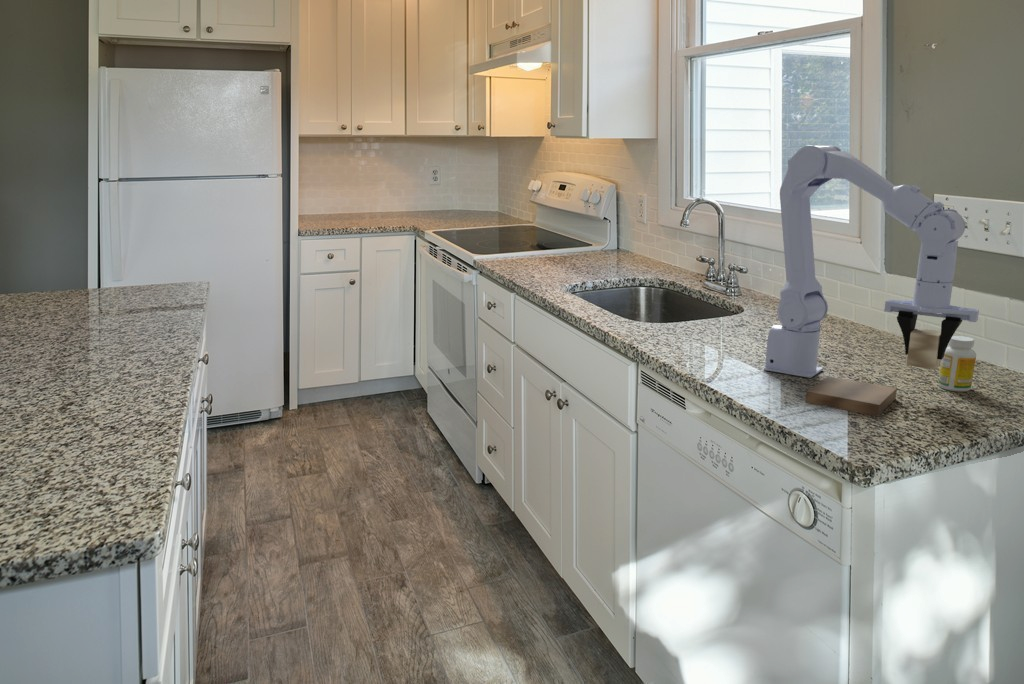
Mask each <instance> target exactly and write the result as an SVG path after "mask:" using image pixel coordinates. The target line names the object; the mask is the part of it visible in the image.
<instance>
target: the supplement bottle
mask: <svg viewBox="0 0 1024 684" xmlns="http://www.w3.org/2000/svg"><path fill="white" fill-rule="evenodd" d="M974 345H975V339H974V338H973V337H969V336H963V335H953V336H952V338H951V340H950V341H949V344H948V346H947V348H946V351H945V354H944V358H943V359H941V362H940V364H941V365H940V372H939V377H938V387H940V388H942V389H943V390H946V391H949V392H950V391H951V392H961V393H962V392H963V393H964V392H968V391H970V390H971V389H972V386H973V385H972V383H973V377H974V373H975V365H976V357H977V353H976V351H975V350H974V349H972V348H973V347H974Z"/></svg>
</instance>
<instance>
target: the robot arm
mask: <svg viewBox="0 0 1024 684" xmlns="http://www.w3.org/2000/svg"><path fill="white" fill-rule="evenodd" d="M833 179H836V180H837V179H839V180H842V179H843V180H846V181H848V182H850V183H851V184H852V185H855V186H856V187H858V188H860V189H861V190H863V191H865V192H866V193H868V194H870V195H871V196H873V197H874V198H877V199H878V200H880V201H882V206H883V211H884V212H885V213H887V214H888V215H889V216H891V217H892V218H894V219H895V220H896V221H898V222H899V223H901V224H903V225H905V226H906V227H907V228H909V229H910V230H911V231H913V232H916V234H917V237H918V238H919V239H918V240H919V241H920V243H921V244H920V250H919V251H920V252H919V255H918V263H917V268H916V269H917V270H916V279H915V286H914V291H913V292H914V293H913V294H914V295H913V299H912V300H913V301H912V300H895V299H887V300H885V301H884V302H885V303H884V310H883V311H884V312H886V313H891V312H893V313H898V314H897V316H896V320H897V323H898V325H899V329H900V330H901V334H902V337H903V338H902V339H903V341H904V349H905V352H904V354H905V355H907V356H908V349H909V342H910V334H911V332H912V331H913V330H915V329H916V324H917V319H918V316H927V317H935V318H942V319H943V320H941V322H940V323H941V327H940V331H941V338H940V344H939V349H938V355H937V359H940V360H942V359H943V358H944V354H945V351H946V348H947V347H949V341H950V340H951V338H952V336H954V334H955V332H956V331H957V330H958V328H959V327H960V325H961V324H962V323H963V321H967V322H970V323H977V322H978V319H979V314H980V309H976V308H969V307H963V306H958V305H951V299H952V294H953V293H952V291H953V285H954V279H955V278H954V277H955V272H956V271H955V270H956V264H957V257H958V255H957V253H958V246H959V239H960V238H961V237H963V235H964V233H965V230H966V222H965V219H964V218H963V216H962V215H961V214H960V213H959V212H958V210H956V209H951V208H945V209H944V206H945V204H944V203H943V202H941V201H937V202H935V201H934V200H932V199H931V198H929V197H928V196H926V195H925V194H923V193H921V190H922V189H921V187H919V186H917V185H915V184H914V185H913V184H912V185H909V184H901V185H895V184H893V183H892V182H890V181H889V180H888V179H886V178H885V177H883V176H882V175H881V174H880V173H878V172H877V171H876V170H874V169H872V168H871V167H869V166H868V165H866V164H865V163H864V162H862V161H861V160H859V159H858V158H857V157H855V156H854V155H853V154H852V153H850V152H848V151H845V150H841V148H840V147H839V146H836V145H834V144H833V145H831V144H830V145H829V144H828V145H813V144H807V145H803V146H801V147H800V148H798V149H797V150H796V151H795V152H794V153H793V154H792V155H791V156H790V158H789V159H787V170H786V173H785V175H784V178H783V180H782V183H781V186H780V189H779V200H780V202H779V203H780V215H781V226H782V227H781V228H782V239H783V240H782V241H783V252H784V254H783V255H784V264H785V277H786V278H785V279H786V280H785V283H784V284H783V287H782V289H781V290H780V293H779V294H780V300H779V304H778V307H777V311H776V313H777V315H776V316H777V319H778V321H779V323H780V324H781V325H780V324H773V325H772V326H771V328H769V332H768V336H767V342H766V351H765V352H766V353H765V363H764V367H763V370H764V371H768V372H769V371H770V372H775V373H779V374H785V375H791V376H796V377H797V376H798V377H802V378H803V377H804V378H808V379H809V378H811V379H812V378H813V377H814V376H816V375H817V374H819V373H821V371H823V370H824V367H822V366H819V365H818V357H819V346H820V337H821V328H822V326H821V321H823V320H824V319H825V318H826V317H827V315H828V312H829V305H828V301H827V299H826V298H825V296H824V294H823V287H822V285H821V283H820V282H819V281H818V279H817V278H816V269H815V268H816V267H815V265H816V264H815V256H814V255H815V253H814V240H813V239H814V238H813V228H812V227H813V225H812V214H811V213H812V212H811V201H810V199H811V197H812V196H813V195H814V194H815V192H816V191H817V190H819V189H820V187H821V186H822V185H824V184H825V183H828V182H829V181H831V180H833Z"/></svg>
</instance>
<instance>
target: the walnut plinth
mask: <svg viewBox="0 0 1024 684" xmlns="http://www.w3.org/2000/svg"><path fill="white" fill-rule="evenodd" d="M897 391H898V388H897V387H894V386H893V387H892V386H887V385H882V384H877V383H876V384H875V383H869V382H863V381H859V380H858V381H857V380H852V379H846V378H840V377H834V376H826V377H825V378H823V379H822V380H821V381H819V382H817V383H816V384H814V385H813V386H812V387H811V388H809V389H808V390H806V394H805V403H809V404H812V405H813V404H815V405H819V406H823V407H828V408H835V409H839V410H844V411H849V412H855V413H860V414H864V415H870V416H875V417H879V416H880V415H881V414H882V413H883V412H884V411H885V410H887V408H888V407H889V406H890V405H891V404H892V403H893V402H894V401H895V400H896V398H897Z"/></svg>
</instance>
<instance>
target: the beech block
mask: <svg viewBox="0 0 1024 684" xmlns="http://www.w3.org/2000/svg"><path fill="white" fill-rule="evenodd" d="M940 338H941V330H936V329H927V328H920V327H915V330H913V331H912V332H911V334H910V342H909V349H908V355H907V359H906V366H909V367H915V368H922V369H928V370H935V369H936V368H937V367H939V365H940V364H941V359H937V355H938V349H939V344H940Z"/></svg>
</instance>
